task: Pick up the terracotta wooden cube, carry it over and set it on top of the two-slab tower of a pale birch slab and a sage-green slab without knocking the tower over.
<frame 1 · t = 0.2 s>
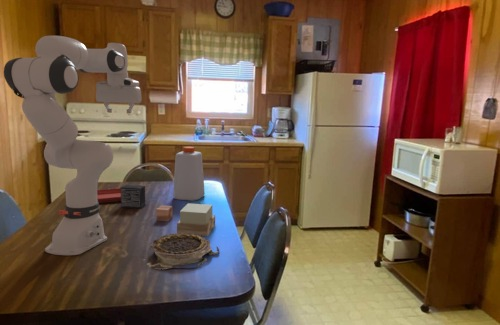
hand: (119, 112, 163), 47 cm above the table, tool pointing down, fingers open, 8 cm apart
plastic bottle: (189, 197, 202), on the table
pie: (181, 254, 133), on the table
lower slab: (196, 230, 156), on the table, touching upper slab
small box: (133, 206, 184), on the table
plant saucer: (110, 199, 196), on the table
terracotta cube: (164, 219, 167), on the table
upper slab: (196, 219, 155), point 5 cm above the table, touching lower slab
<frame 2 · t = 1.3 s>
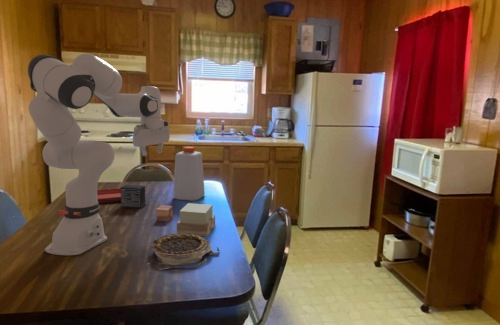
hand: (152, 154, 163), 30 cm above the table, tool pointing down, fingers open, 8 cm apart
nothing on the table moved.
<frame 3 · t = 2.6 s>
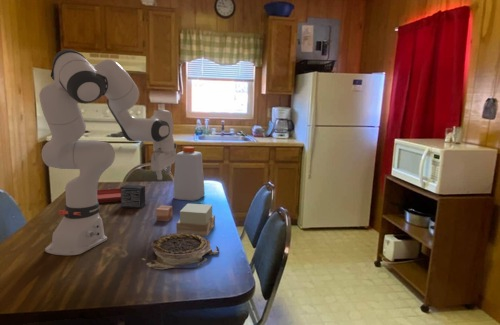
hand: (164, 176, 163), 20 cm above the table, tool pointing down, fingers open, 8 cm apart
nothing on the table moved.
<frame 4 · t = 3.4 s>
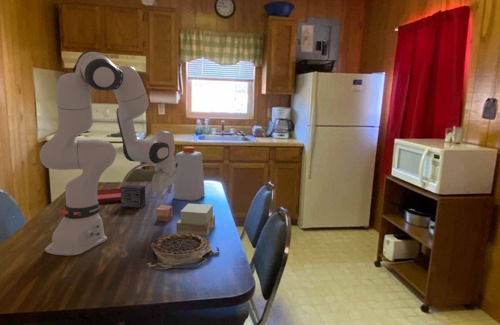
hand: (165, 196, 165), 11 cm above the table, tool pointing down, fingers open, 8 cm apart
nothing on the table moved.
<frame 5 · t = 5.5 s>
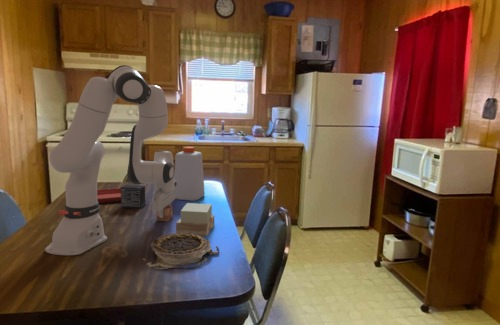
hand: (164, 214, 167), 2 cm above the table, tool pointing down, fingers closed on terracotta cube, 5 cm apart
terracotta cube: (164, 218, 167), on the table, touching gripper
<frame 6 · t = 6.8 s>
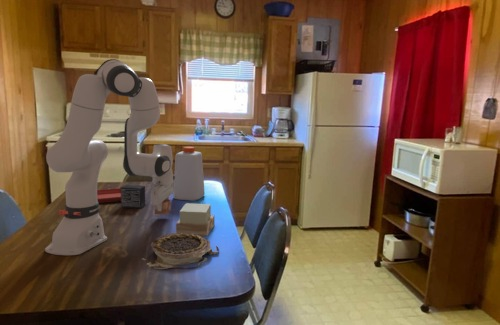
hand: (162, 208, 167), 5 cm above the table, tool pointing down, fingers closed on terracotta cube, 5 cm apart
terracotta cube: (162, 212, 167), point 3 cm above the table, touching gripper
everything else where it was.
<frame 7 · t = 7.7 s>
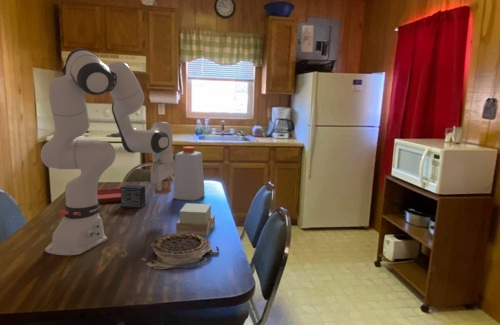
hand: (163, 188, 164), 15 cm above the table, tool pointing down, fingers closed on terracotta cube, 5 cm apart
terracotta cube: (162, 192, 164), point 13 cm above the table, touching gripper
everything else where it was.
when the fingers open (14 cm above the table, at t = 15.0 s): terracotta cube drops 2 cm, resting on upper slab.
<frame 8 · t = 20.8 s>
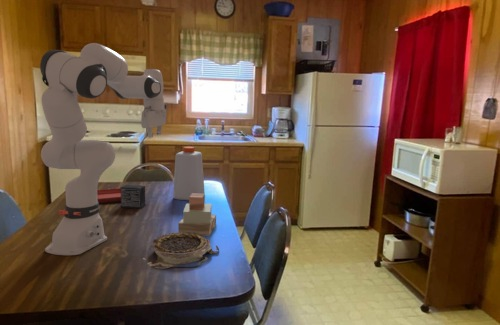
hand: (154, 136, 168), 37 cm above the table, tool pointing down, fingers open, 8 cm apart
terracotta cube: (197, 207, 154), point 10 cm above the table, touching upper slab
upper slab: (197, 218, 155), point 5 cm above the table, touching lower slab, terracotta cube
at the end: terracotta cube 0.4 cm off-centre on the lower slab, point 10.1 cm above the lower slab's base; upper slab 0.0 cm off-centre on the lower slab, point 5.0 cm above the lower slab's base; terracotta cube tilted 1° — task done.
